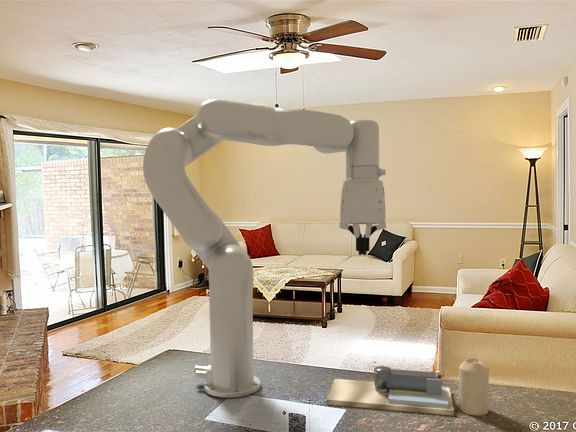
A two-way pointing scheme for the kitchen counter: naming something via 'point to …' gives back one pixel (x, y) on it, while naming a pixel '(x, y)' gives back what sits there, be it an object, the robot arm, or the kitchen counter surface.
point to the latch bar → (403, 378)
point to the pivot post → (382, 389)
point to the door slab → (421, 395)
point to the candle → (473, 387)
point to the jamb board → (376, 398)
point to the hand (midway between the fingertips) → (362, 254)
